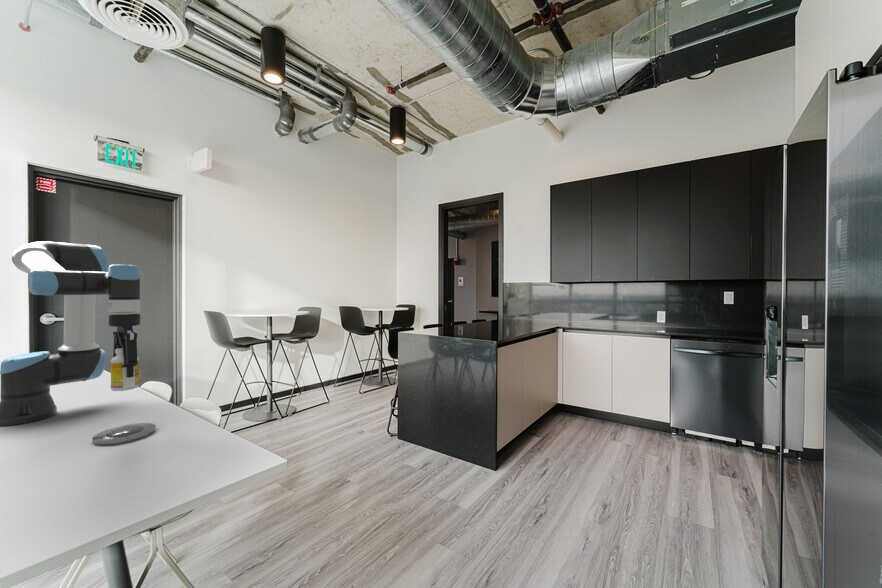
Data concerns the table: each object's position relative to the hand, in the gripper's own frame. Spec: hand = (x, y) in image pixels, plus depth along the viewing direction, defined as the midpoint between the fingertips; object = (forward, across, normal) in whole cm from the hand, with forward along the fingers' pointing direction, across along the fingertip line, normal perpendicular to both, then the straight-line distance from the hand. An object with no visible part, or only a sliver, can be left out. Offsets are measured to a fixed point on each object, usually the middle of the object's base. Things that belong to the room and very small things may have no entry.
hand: (125, 385), depth 112 cm
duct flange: (+16, 0, 0) cm, 16 cm away
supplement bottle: (+1, 0, 0) cm, 1 cm away
